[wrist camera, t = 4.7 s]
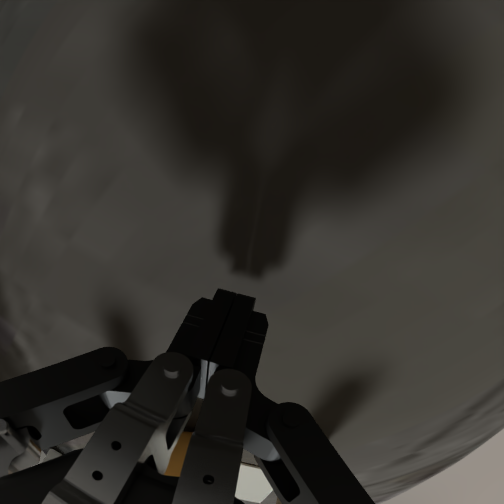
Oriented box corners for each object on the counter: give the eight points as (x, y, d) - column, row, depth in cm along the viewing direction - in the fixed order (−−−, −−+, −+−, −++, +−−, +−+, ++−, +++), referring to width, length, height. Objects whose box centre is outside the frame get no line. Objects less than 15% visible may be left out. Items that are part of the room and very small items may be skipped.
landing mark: (141, 430, 25) (140, 432, 25) (287, 472, 24) (287, 474, 23) (155, 472, 32) (154, 473, 32) (260, 501, 31) (260, 503, 31)
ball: (164, 407, 22) (136, 467, 16) (240, 430, 21) (224, 495, 16) (163, 444, 24) (141, 495, 19) (227, 463, 24) (213, 518, 18)
